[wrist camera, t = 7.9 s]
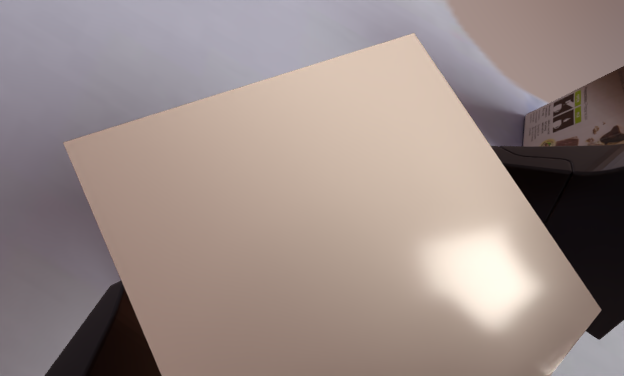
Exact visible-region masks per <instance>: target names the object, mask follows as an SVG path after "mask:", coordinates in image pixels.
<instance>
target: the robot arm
mask: <svg viewBox="0 0 624 376" xmlns="http://www.w3.org/2000/svg"><path fill="white" fill-rule="evenodd" d="M491 148H492V149H493V150H494V152H495V153H496V155H497V156H498V158H499V159H500V161H501V162H502V164H503V165H504V167H505V168H506V170H507V171H508V173H509V174H510V176H511V177H512V179H513V180H514V181H515V183H516V184H517V186H518V187H519V189H520V190H521V192H522V193H523V195H524V196H525V198H526V199H527V201H528V202H529V204H530V205H531V207H532V208H533V210H534V211H535V212H536V214H537V215H538V217H539V218H540V220H541V221H542V223H543V224H544V226H545V227H546V229H547V230H548V232H549V233H550V235H551V236H552V238H553V239H554V241H555V242H556V243H557V245H558V246H559V248H560V249H561V251H562V252H563V254H564V255H565V257H566V258H567V260H568V261H569V263H570V264H571V266H572V267H573V269H574V270H575V272H576V273H577V274H578V276H579V277H580V279H581V280H582V282H583V283H584V285H585V286H586V288H587V289H588V291H589V292H590V294H591V295H592V297H593V298H594V300H595V301H596V303H597V304H598V305H599V307H600V308H601V312H600V313H599V314H598V315H597V317H596V318H595V319H594V321H593V322H592V323H591V324H590V326H589V327H588V328H587V329H586V331H587V332H588V333H589V334H591V335H592V336H594V337H595V338H597V339H599V340H600V339H601V338H602V337H604V336H605V335H606V334H607V333H608V332H610V331H611V330H612V329H613V328H614V327H616V326H617V325H618V324H619V323H621V322H622V321H623V320H624V144H616V145H590V146H533V147H532V146H500V147H498V146H491ZM45 376H162V375H161V373H160V371H159V368H158V366H157V364H156V361H155V359H154V356H153V354H152V352H151V349H150V347H149V345H148V342H147V340H146V337H145V335H144V333H143V330H142V328H141V326H140V323H139V321H138V319H137V316H136V314H135V311H134V309H133V307H132V304H131V302H130V300H129V297H128V295H127V293H126V290H125V288H124V285H123V283H122V281H119V282H117V283H115V284H113V285H112V286H110V287H109V289H108V290H107V291H106V293H105V294H104V295H103V297H102V298H101V299H100V301H99V302H98V304H97V305H96V306H95V308H94V309H93V310H92V312H91V313H90V314H89V316H88V317H87V319H86V320H85V321H84V323H83V324H82V325H81V327H80V328H79V329H78V331H77V332H76V334H75V335H74V336H73V338H72V339H71V340H70V342H69V343H68V344H67V346H66V347H65V349H64V350H63V351H62V353H61V354H60V355H59V357H58V358H57V359H56V361H55V362H54V364H53V365H52V366H51V368H50V369H49V370H48V372H47V373H46V374H45Z"/></svg>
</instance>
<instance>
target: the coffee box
mask: <svg viewBox="0 0 624 376" xmlns="http://www.w3.org/2000/svg"><path fill="white" fill-rule="evenodd" d="M616 144H624V66H623V67H621V68H619V69H617V70H615V71H613V72H611V73H609V74H607V75H605V76H603V77H601V78H599V79H597V80H595V81H593V82H591V83H589V84H587V85H585V86H583V87H581V88H579V89H577V90H575V91H573V92H571V93H569V94H567V95H565V96H563V97H561V98H559V99H557V100H555V101H553V102H551V103H549V104H547V105H545V106H543V107H541V108H539V109H537V110H535V111H532V112H530V113H528V114H527V115H526V116H525V128H524V140H523V146H532V147H533V146H590V145H616Z"/></svg>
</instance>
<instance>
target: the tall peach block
mask: <svg viewBox="0 0 624 376" xmlns="http://www.w3.org/2000/svg"><path fill="white" fill-rule="evenodd" d="M63 143H64V146H65V148H66V150H67V153H68V155H69V158H70V160H71V162H72V165H73V167H74V169H75V172H76V174H77V176H78V179H79V181H80V184H81V186H82V188H83V191H84V193H85V195H86V198H87V200H88V203H89V205H90V207H91V210H92V212H93V214H94V217H95V219H96V221H97V224H98V226H99V229H100V231H101V233H102V236H103V238H104V240H105V243H106V245H107V248H108V250H109V252H110V255H111V257H112V259H113V262H114V264H115V266H116V269H117V271H118V274H119V276H120V278H121V281H122V283H123V285H124V288H125V290H126V293H127V295H128V297H129V300H130V302H131V304H132V307H133V309H134V311H135V314H136V316H137V319H138V321H139V323H140V326H141V328H142V330H143V333H144V335H145V337H146V340H147V342H148V345H149V347H150V349H151V352H152V354H153V356H154V359H155V361H156V364H157V366H158V368H159V371H160V373H161V375H162V376H550V375H551V374H552V373H553V371H554V370H555V369H556V368H557V366H558V365H559V364H560V363H561V361H562V360H563V359H564V357H565V356H566V355H567V354H568V352H569V351H570V350H571V349H572V347H573V346H574V345H575V343H576V342H577V341H578V340H579V338H580V337H581V336H582V335H583V333H584V332H585V331H586V329H587V328H588V327H589V326H590V324H591V323H592V322H593V321H594V319H595V318H596V317H597V315H598V314H599V313H600V312H601V308H600V307H599V305H598V304H597V303H596V301H595V300H594V298H593V297H592V295H591V294H590V292H589V291H588V289H587V288H586V286H585V285H584V283H583V282H582V280H581V279H580V277H579V276H578V274H577V273H576V272H575V270H574V269H573V267H572V266H571V264H570V263H569V261H568V260H567V258H566V257H565V255H564V254H563V252H562V251H561V249H560V248H559V246H558V245H557V243H556V242H555V241H554V239H553V238H552V236H551V235H550V233H549V232H548V230H547V229H546V227H545V226H544V224H543V223H542V221H541V220H540V218H539V217H538V215H537V214H536V212H535V211H534V210H533V208H532V207H531V205H530V204H529V202H528V201H527V199H526V198H525V196H524V195H523V193H522V192H521V190H520V189H519V187H518V186H517V184H516V183H515V181H514V180H513V179H512V177H511V176H510V174H509V173H508V171H507V170H506V168H505V167H504V165H503V164H502V162H501V161H500V159H499V158H498V156H497V155H496V153H495V152H494V150H493V149H492V148H491V146H490V145H489V143H488V142H487V140H486V139H485V137H484V136H483V134H482V133H481V131H480V130H479V128H478V127H477V125H476V124H475V122H474V121H473V119H472V118H471V117H470V115H469V114H468V112H467V111H466V109H465V108H464V106H463V105H462V103H461V102H460V100H459V99H458V97H457V96H456V94H455V93H454V91H453V90H452V88H451V87H450V86H449V84H448V83H447V81H446V80H445V78H444V77H443V75H442V74H441V72H440V71H439V69H438V68H437V66H436V65H435V63H434V62H433V60H432V59H431V57H430V56H429V55H428V53H427V52H426V50H425V49H424V47H423V46H422V44H421V43H420V41H419V40H418V38H417V37H416V35H415V34H414V33H413V34H410V35H406V36H403V37H400V38H397V39H394V40H390V41H387V42H384V43H381V44H378V45H374V46H371V47H368V48H365V49H362V50H358V51H355V52H352V53H349V54H346V55H342V56H339V57H336V58H333V59H329V60H326V61H323V62H320V63H317V64H313V65H310V66H307V67H304V68H301V69H297V70H294V71H291V72H288V73H285V74H281V75H278V76H275V77H272V78H269V79H265V80H262V81H259V82H256V83H253V84H249V85H246V86H243V87H240V88H236V89H233V90H230V91H227V92H224V93H220V94H217V95H214V96H211V97H208V98H204V99H201V100H198V101H195V102H192V103H188V104H185V105H182V106H179V107H176V108H172V109H169V110H166V111H163V112H160V113H156V114H153V115H150V116H147V117H143V118H140V119H137V120H134V121H131V122H127V123H124V124H121V125H118V126H115V127H111V128H108V129H105V130H102V131H99V132H95V133H92V134H89V135H86V136H83V137H79V138H76V139H73V140H70V141H67V142H63Z"/></svg>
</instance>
